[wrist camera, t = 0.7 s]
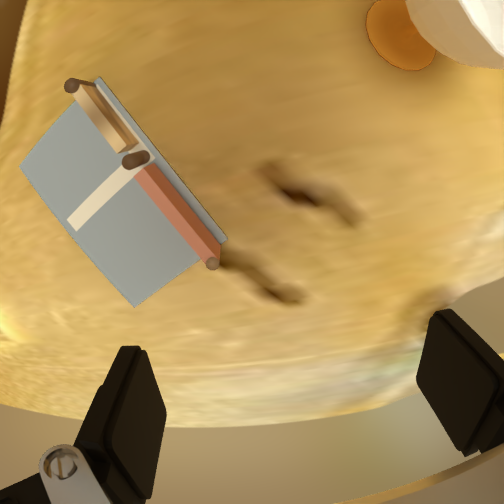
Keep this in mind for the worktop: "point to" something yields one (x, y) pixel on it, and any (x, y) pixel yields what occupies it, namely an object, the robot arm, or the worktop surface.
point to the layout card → (112, 202)
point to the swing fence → (180, 214)
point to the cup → (438, 32)
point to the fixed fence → (107, 121)
